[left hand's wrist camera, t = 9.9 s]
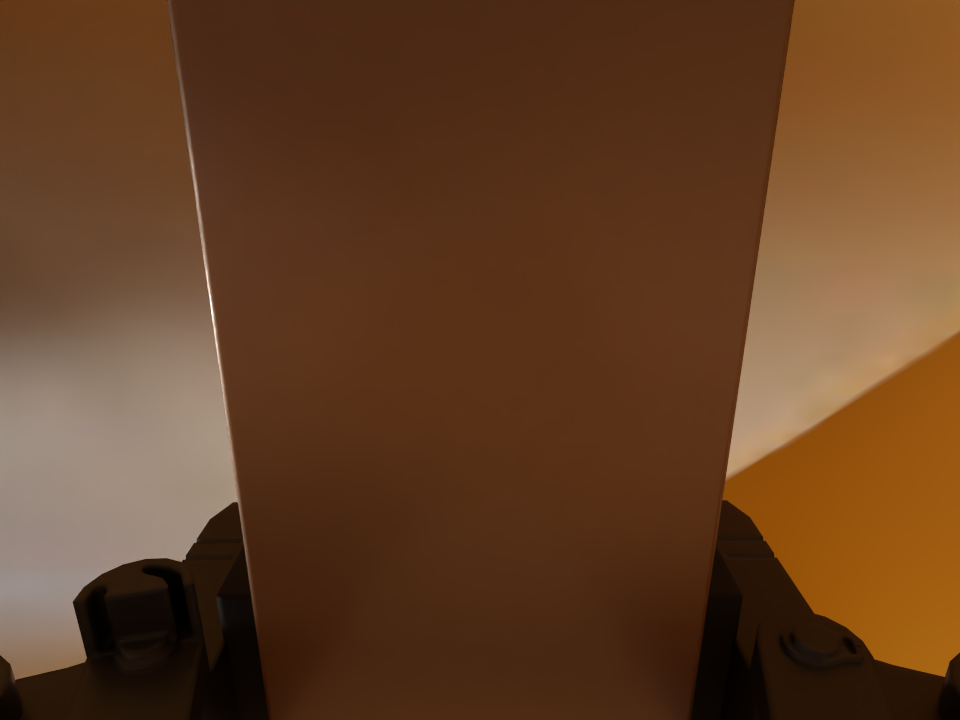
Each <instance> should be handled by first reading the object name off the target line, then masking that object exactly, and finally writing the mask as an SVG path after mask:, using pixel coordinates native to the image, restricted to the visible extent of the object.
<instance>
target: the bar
mask: <svg viewBox="0 0 960 720" xmlns="http://www.w3.org/2000/svg"><path fill="white" fill-rule="evenodd" d="M167 5H168V12H169V19H170V26H171V33H172V40H173V47H174V54H175V61H176V69H177V76H178V83H179V90H180V97H181V104H182V111H183V118H184V125H185V132H186V139H187V146H188V153H189V160H190V167H191V174H192V181H193V188H194V195H195V203H196V210H197V217H198V224H199V231H200V238H201V245H202V252H203V259H204V266H205V273H206V280H207V287H208V294H209V301H210V308H211V315H212V322H213V329H214V336H215V344H216V351H217V358H218V365H219V372H220V379H221V386H222V393H223V400H224V407H225V414H226V421H227V428H228V435H229V442H230V449H231V456H232V463H233V470H234V478H235V485H236V492H237V499H238V506H239V513H240V520H241V527H242V534H243V541H244V548H245V555H246V562H247V569H248V576H249V583H250V590H251V597H252V604H253V611H254V619H255V626H256V633H257V640H258V647H259V654H260V661H261V668H262V675H263V682H264V689H265V696H266V703H267V710H268V717H269V720H691V713H692V707H693V700H694V693H695V686H696V679H697V672H698V665H699V658H700V651H701V644H702V637H703V630H704V623H705V616H706V610H707V603H708V596H709V589H710V582H711V575H712V568H713V561H714V554H715V547H716V540H717V533H718V527H719V520H720V513H721V506H722V499H723V492H724V485H725V478H726V471H727V464H728V457H729V450H730V443H731V437H732V430H733V423H734V416H735V409H736V402H737V395H738V388H739V381H740V374H741V367H742V360H743V353H744V347H745V340H746V333H747V326H748V319H749V312H750V305H751V298H752V291H753V284H754V277H755V270H756V263H757V257H758V250H759V243H760V236H761V229H762V222H763V215H764V208H765V201H766V194H767V187H768V180H769V173H770V167H771V160H772V153H773V146H774V139H775V132H776V125H777V118H778V111H779V104H780V97H781V90H782V83H783V77H784V70H785V63H786V56H787V49H788V42H789V35H790V28H791V21H792V14H793V7H794V0H167Z"/></svg>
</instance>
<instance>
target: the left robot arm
mask: <svg viewBox="0 0 960 720" xmlns="http://www.w3.org/2000/svg"><path fill="white" fill-rule="evenodd" d="M73 605H74V609H75V613H76V617H77V620H78V624H79V628H80V632H81V636H82V640H83V644H84V648H85V652H86V656H87V659H86V662H84V663H81V664H78V665H75V666H71V667H68V668H64V669H60V670H56V671H51V672H47V673H43V674H38V675H34V676H30V677H26V678H21V679H17V680H15V678H14V675H13V671H12V668H11V665H10V664H9V663H8V662H7V661H6V660H5V659H4V658H3V657H2V656H0V720H269V717H268V710H267V703H266V696H265V689H264V682H263V675H262V668H261V661H260V654H259V647H258V640H257V633H256V626H255V619H254V611H253V604H252V597H251V590H250V583H249V576H248V569H247V562H246V555H245V548H244V541H243V534H242V527H241V520H240V513H239V506H238V502H233V503H232V504H230V505H229V506H228V507H226V508H225V509H224V510H222V511H221V512H219V513H218V514H217V515H215V516H214V517H213V518H211V519H210V520H209V522H208V523H207V525H206V526H205V528H204V529H203V531H202V532H201V534H200V535H199V537H198V538H197V543H194V544H193V546H192V547H191V549H190V550H189V552H188V553H187V555H186V560H183V561H182V562H179V561H175V560H171V559H167V558H163V559H144V560H140V561H136V562H132V563H128V564H123V565H121V566H119V567H117V568H115V569H112V570H110V571H108V572H106V573H103V574H101V575H100V576H99V577H97V578H96V579H95V580H93V581H92V582H90V583H89V584H88V585H86V586H85V587H84V588H83V589H82V590H81V592H80V593H79V594H78V596H77V597H76V598H75V600H74V601H73ZM691 720H960V653H959V654H958V655H957V656H955V657H954V658H953V659H952V660H951V661H950V663H949V666H948V669H947V673H946V676H945V677H942V676H938V675H933V674H929V673H925V672H921V671H916V670H912V669H908V668H903V667H899V666H895V665H891V664H888V663H885V662H881V661H878V660H875V659H874V658H873V656H872V655H871V653H870V652H869V650H868V649H867V647H866V645H865V644H864V642H863V641H862V640H861V639H859V638H858V637H857V636H856V635H855V634H853V633H852V632H851V631H850V630H849V629H847V628H846V627H844V626H842V625H840V624H838V623H837V622H835V621H832V620H831V619H829V618H827V617H824V616H821V615H817V614H814V612H813V611H812V610H811V608H810V607H809V605H808V604H807V602H806V601H805V599H804V598H803V596H802V595H801V593H800V592H799V590H798V589H797V587H796V586H795V584H794V583H793V581H792V580H791V578H790V577H789V575H788V574H787V572H786V571H785V569H784V568H783V566H782V565H781V563H780V562H779V560H778V559H777V558H775V557H774V553H773V551H772V550H771V548H770V547H769V545H768V544H767V542H766V541H763V536H762V535H761V533H760V532H759V530H758V529H757V527H756V526H755V524H754V523H753V521H752V520H751V518H750V517H749V516H747V515H746V514H745V513H743V512H742V511H741V510H739V509H738V508H736V507H735V506H734V505H732V504H731V503H730V502H728V501H727V500H722V506H721V513H720V520H719V527H718V533H717V540H716V547H715V554H714V561H713V568H712V575H711V582H710V589H709V596H708V603H707V610H706V616H705V623H704V630H703V637H702V644H701V651H700V658H699V665H698V672H697V679H696V686H695V693H694V700H693V707H692V713H691Z"/></svg>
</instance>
